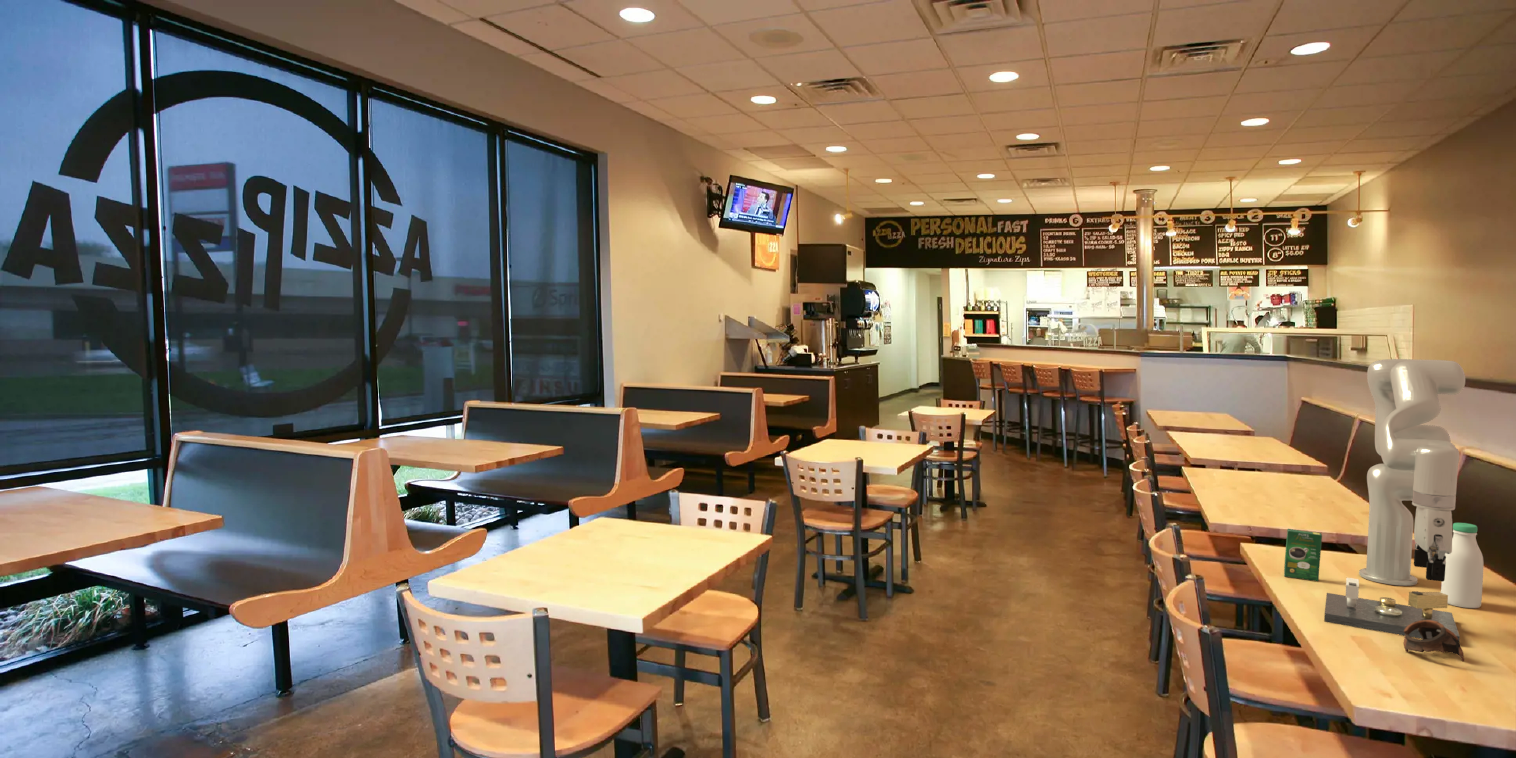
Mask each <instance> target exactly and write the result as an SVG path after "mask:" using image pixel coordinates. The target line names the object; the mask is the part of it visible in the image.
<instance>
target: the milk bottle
mask: <svg viewBox="0 0 1516 758" xmlns="http://www.w3.org/2000/svg"><path fill="white" fill-rule="evenodd" d="M1477 532H1478V526H1477V525H1476V524H1472V523H1467V522H1454V523H1452V533H1453V534H1452V552H1451V553H1450V554H1447V553H1445V556H1446V567H1445V580H1444V581H1440V592H1441V593H1443V594H1446V595H1448V604H1447V605H1450V606H1455V607H1459V608H1463V609H1464V608H1465V609H1479V608H1480V607H1481V606H1482V599H1483V596H1482V595H1483V585H1484V584H1483V581H1484V580H1483V579H1484V556H1483V553H1482V551H1481V549H1480V547H1479V545H1478V542H1477V539H1476V537H1477V536H1478V533H1477Z"/></svg>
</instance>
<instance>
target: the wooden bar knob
mask: <svg viewBox="0 0 1516 758" xmlns="http://www.w3.org/2000/svg"><path fill="white" fill-rule="evenodd" d="M1407 604H1408V605H1407V606H1412V607H1415V608H1422V618H1424V619H1432V611H1433V610H1434V609H1448V605H1449V604H1448V595H1446V594H1443V593H1441V591H1417V590H1416V591H1409V592H1408V603H1407Z"/></svg>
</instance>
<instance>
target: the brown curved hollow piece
mask: <svg viewBox="0 0 1516 758" xmlns="http://www.w3.org/2000/svg"><path fill="white" fill-rule="evenodd" d="M1416 629H1418V631H1419V633H1420V635H1421V636H1422V638H1423V639H1420V638H1414V637H1410V636H1409V634H1410V633H1411V632H1412V631H1414V630H1416ZM1437 629H1438V630H1441V632H1438V631H1437ZM1404 633H1405V634H1406V635H1405V636H1404V638H1403V642H1402V643H1403V648H1404V650H1405V652H1406V653H1409V651H1413V652H1418V653H1425V652H1426V653H1431V652H1439V653H1443V654H1444V653H1450V654H1454V655H1457V656H1459V658H1460V661H1461V662H1462V663H1464V662H1465V658H1464V657H1465V655H1464V651H1463V649H1462V647H1461V643H1460V640H1458V638H1457V636H1456V635H1455V634H1454V633H1453V632H1451V631H1450V630H1449V629H1447V628H1445V627H1444V626H1443V625H1442V624H1441V623H1438V622H1437V621H1432V620H1428V619H1426V620H1421V621H1417V622H1414V623H1412V624H1410V625H1408V626H1407V627H1406V628H1405V629H1404Z"/></svg>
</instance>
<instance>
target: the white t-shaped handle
mask: <svg viewBox="0 0 1516 758" xmlns="http://www.w3.org/2000/svg"><path fill="white" fill-rule="evenodd" d="M1345 580H1346V581H1345V596H1346V598H1347V606H1351V607H1356V599H1358V598H1359V592H1360V591H1359V589H1360V588H1359V587H1360V581H1359V580H1360V579H1359V578H1353V577H1346V579H1345Z"/></svg>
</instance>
